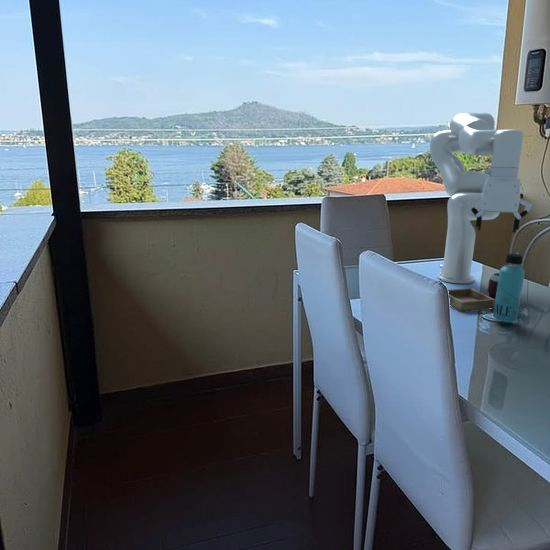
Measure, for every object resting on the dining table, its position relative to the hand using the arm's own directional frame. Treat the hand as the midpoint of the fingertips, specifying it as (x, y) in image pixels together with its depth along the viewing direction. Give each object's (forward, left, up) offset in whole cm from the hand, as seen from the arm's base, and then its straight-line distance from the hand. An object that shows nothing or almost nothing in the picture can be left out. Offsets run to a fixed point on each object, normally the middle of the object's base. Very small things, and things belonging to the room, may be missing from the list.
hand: (496, 230), depth 141 cm
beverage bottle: (+16, -7, -23) cm, 29 cm away
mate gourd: (-2, +6, -23) cm, 24 cm away
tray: (0, -8, -23) cm, 24 cm away
